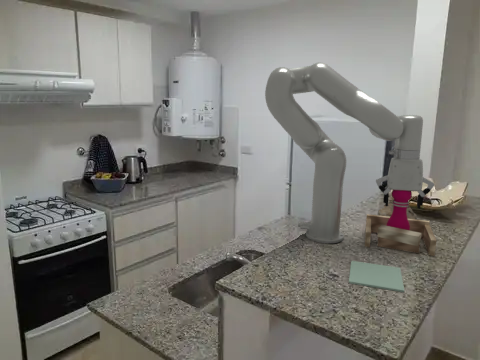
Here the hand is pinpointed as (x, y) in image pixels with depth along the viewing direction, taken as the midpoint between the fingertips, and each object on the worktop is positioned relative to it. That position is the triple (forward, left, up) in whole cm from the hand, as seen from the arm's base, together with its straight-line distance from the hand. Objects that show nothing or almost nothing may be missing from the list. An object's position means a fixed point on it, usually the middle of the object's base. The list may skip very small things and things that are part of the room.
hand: (402, 206), depth 121 cm
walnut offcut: (-1, -7, -12) cm, 14 cm away
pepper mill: (-1, 0, -12) cm, 12 cm away
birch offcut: (-1, -7, -9) cm, 11 cm away
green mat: (-8, -30, -12) cm, 33 cm away
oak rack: (-1, -2, -12) cm, 12 cm away
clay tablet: (+2, +27, -12) cm, 30 cm away
